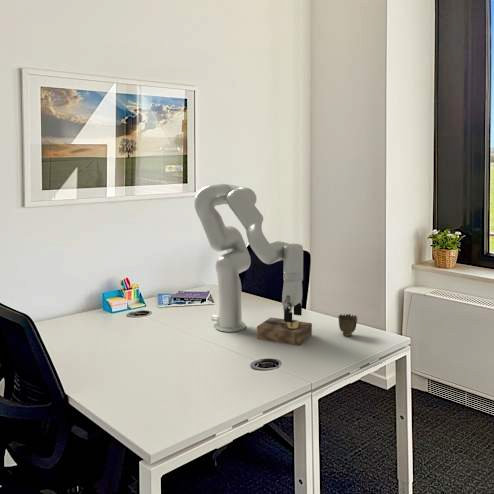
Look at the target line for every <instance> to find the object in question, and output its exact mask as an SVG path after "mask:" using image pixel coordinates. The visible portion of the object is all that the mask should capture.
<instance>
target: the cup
mask: <svg viewBox="0 0 494 494" xmlns="http://www.w3.org/2000/svg"><path fill="white" fill-rule="evenodd" d="M337 318H338V327H339V330H340V332H341V333H342V335H343V337H348V338H349V337H352V336H353V333H354V331H356V328H357V324H358V323H357V322H358V316H357V315H356V314H355V315H354V314H352V315H351V314H350V313H349V314H348V313H346V314H345V313H344V314H339V315H338V317H337Z"/></svg>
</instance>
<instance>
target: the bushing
mask: <svg viewBox="0 0 494 494" xmlns="http://www.w3.org/2000/svg"><path fill="white" fill-rule="evenodd" d="M298 321H299V320H297V319H292V322H291V323H290V322H287V328H298Z"/></svg>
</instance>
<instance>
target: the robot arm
mask: <svg viewBox="0 0 494 494" xmlns="http://www.w3.org/2000/svg"><path fill="white" fill-rule="evenodd" d="M193 202H194V204H193V205H194V209H195V212H196V214H197V217H198V219H199V220H200V222H201V226H202V227H203V230H204V233H205V235H206V238H207V240H208V242H209V245H210V247H211V249H212V250H214V252H224V251H226V253H224V254H222V255H220V256H219V257H218V258H217V260H216V263H215V271H216V276H217V284H218V285H217V288H218V315H217V314H212V315H211V322H212V321H213V322H216V323H215V324H214V325H215V327H214V328H215V329H216V330H218V331H220V332H225V333H233V332H234V333H235V332H241V331H243V330H245V328H246V323H245V322H243V320H242V319H243V316H242V314H243V311H242V310H243V307H242V305H243V303H242V301H243V299H242V283H241V282H242V281H241V278H240V276H239V274H241V273H243V272H245V271H247V270H249V268H250V266H251V264H252V261H251V255H250V252H249V250H248V248H247V245H246V242H245V241H244V238H243V236H242V233H241V232H240V230H239V229H238V228H236V227H234V226H233V225H227V226H226V225H225V223H224V221H223V218H222V216H221V213H220V212H219V211H218V210H217V209H216V206H222V205H228V207H229V209H231V211H232V212H233V215H235V216H236V218H237V219H238V221H239V222H240V223H241V225H242V226H243V227H244V229H245V233H246V237H247V242H248V244H249V246H250V248H251V250H252V251H253V253H254V254H255V256H257V257H256V258H258V259H259V260H260V261H261V262H262V263H264V264H266V265H272V264H275V263H277V262H280V261H283V287H282V295H281V297H282V298H281V299H282V300H281V302H282V306H283V308H282V309H283V319H284V322H290V323H291V322H292V320H293V315H294V316H301V317H302V315H303V314H302V312H303V310H302V308H303V302H302V301H303V295H304V294H303V281H304V247H303V245H302V244H299V243H289V242H284V241H280V240H277V241H273V242H269V241H268V240H267V238H266V236H265V234H264V233H263V228H262V225H263V222H264V216H263V215H262V213H261V212H260V210H259V209H258V208H257V206H256V203H257V195H256V193H255V191H254V190H253V189H252V188H249V187H244V186H239V185H233V184H228V183H220V184H211V185H210V184H209V185H206V186H204V187H202V188H200V189H199V190H198V191H197V193H196V194H195V198H194V201H193ZM292 310H293V311H292Z"/></svg>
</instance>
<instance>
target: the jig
mask: <svg viewBox="0 0 494 494" xmlns="http://www.w3.org/2000/svg"><path fill="white" fill-rule="evenodd" d="M312 334H313V323H312V322H306V321H299V320H298V328H287V322H284V318H278V317H269V318H268V319H266V320H264V321H262V322H261V323H260V324H259V325H257V326H256V338H257V339H258V340H263V341H269V342H270V341H271V342H275V343H276V342H277V343H281V344H286V345H287V344H289V345H294V346H302V344H303V343H305V341H307V340H308V339H309V338H310V337H312V336H313V335H312Z"/></svg>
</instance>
